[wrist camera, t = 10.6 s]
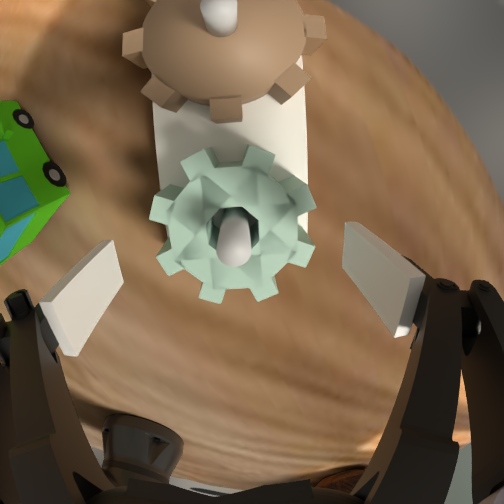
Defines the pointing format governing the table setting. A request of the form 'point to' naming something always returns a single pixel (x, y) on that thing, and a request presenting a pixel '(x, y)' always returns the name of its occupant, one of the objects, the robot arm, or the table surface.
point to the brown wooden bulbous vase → (342, 481)
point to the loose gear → (206, 233)
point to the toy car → (24, 181)
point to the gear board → (234, 140)
